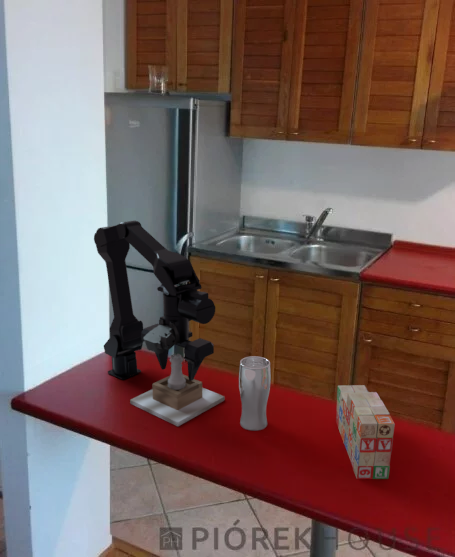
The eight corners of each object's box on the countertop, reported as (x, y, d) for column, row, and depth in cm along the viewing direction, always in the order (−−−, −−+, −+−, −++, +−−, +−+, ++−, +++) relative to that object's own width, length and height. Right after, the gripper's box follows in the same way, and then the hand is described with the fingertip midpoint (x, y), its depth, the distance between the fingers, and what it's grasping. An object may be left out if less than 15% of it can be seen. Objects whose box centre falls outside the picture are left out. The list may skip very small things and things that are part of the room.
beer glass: (275, 423, 129) (277, 362, 125) (255, 435, 124) (256, 372, 120) (252, 412, 133) (253, 353, 129) (231, 423, 128) (232, 362, 124)
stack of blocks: (334, 422, 130) (338, 372, 126) (362, 422, 130) (366, 372, 127) (356, 480, 109) (361, 422, 106) (389, 480, 109) (395, 422, 106)
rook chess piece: (179, 392, 134) (178, 361, 132) (163, 388, 136) (162, 357, 134) (189, 385, 138) (189, 354, 135) (174, 381, 140) (174, 350, 138)
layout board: (130, 403, 137) (129, 384, 136) (177, 380, 149) (177, 363, 147) (177, 426, 127) (177, 406, 126) (224, 400, 139) (224, 381, 138)
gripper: (122, 312, 131) (125, 374, 136) (180, 332, 120) (181, 399, 124) (157, 300, 140) (159, 359, 144) (215, 318, 128) (215, 381, 133)
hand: (177, 374), depth 136 cm, fingers open, 9 cm apart
